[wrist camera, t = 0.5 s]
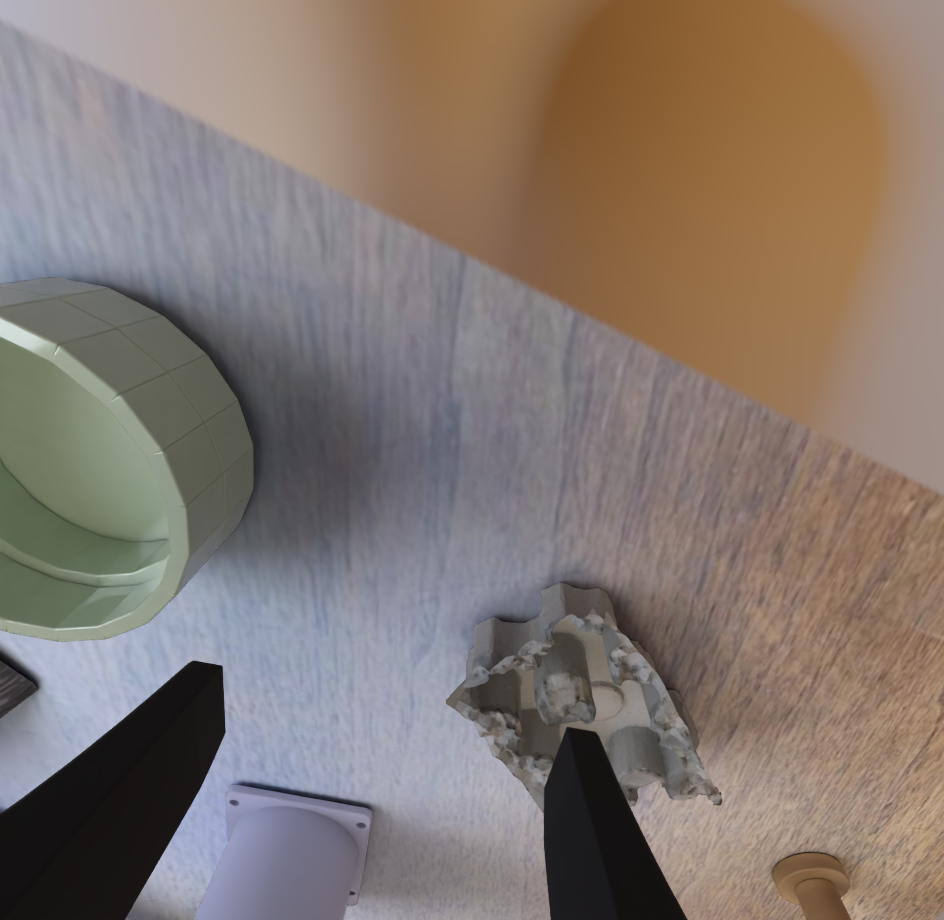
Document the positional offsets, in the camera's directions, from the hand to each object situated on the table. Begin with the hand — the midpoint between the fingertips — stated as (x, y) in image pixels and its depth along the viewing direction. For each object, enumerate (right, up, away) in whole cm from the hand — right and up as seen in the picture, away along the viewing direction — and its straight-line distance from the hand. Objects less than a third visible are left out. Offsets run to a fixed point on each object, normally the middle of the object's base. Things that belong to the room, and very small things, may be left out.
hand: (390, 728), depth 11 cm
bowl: (-12, +7, +9) cm, 16 cm away
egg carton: (+6, -4, +13) cm, 15 cm away
